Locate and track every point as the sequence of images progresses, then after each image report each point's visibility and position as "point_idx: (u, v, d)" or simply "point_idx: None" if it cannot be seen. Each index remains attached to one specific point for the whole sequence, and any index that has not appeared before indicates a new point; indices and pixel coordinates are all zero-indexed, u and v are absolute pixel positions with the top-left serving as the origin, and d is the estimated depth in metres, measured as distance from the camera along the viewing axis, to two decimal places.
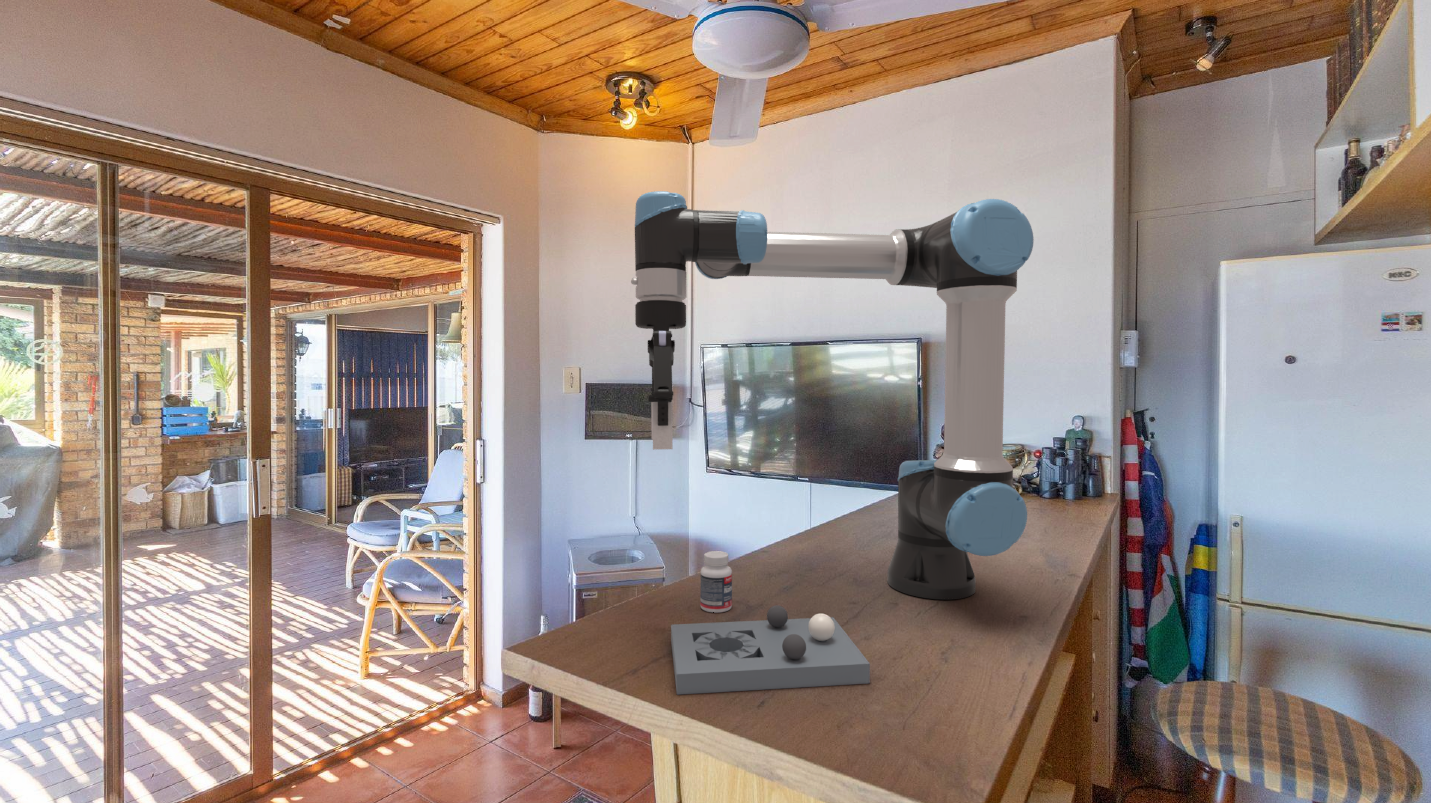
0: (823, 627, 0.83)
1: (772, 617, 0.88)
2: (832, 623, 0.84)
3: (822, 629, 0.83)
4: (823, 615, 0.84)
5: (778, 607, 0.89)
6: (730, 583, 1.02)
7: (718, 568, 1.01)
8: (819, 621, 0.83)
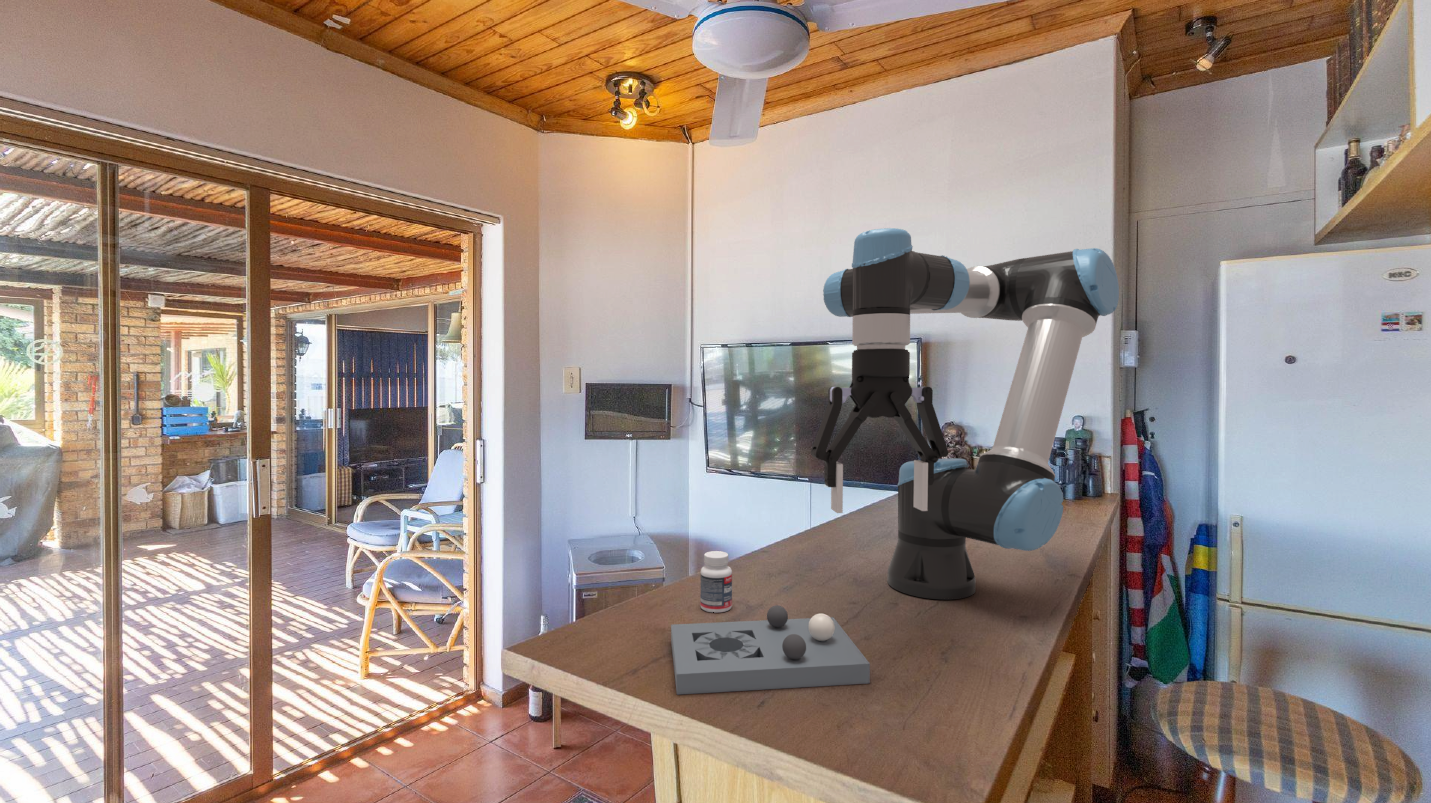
0: (823, 627, 0.83)
1: (772, 617, 0.88)
2: (832, 623, 0.84)
3: (822, 629, 0.83)
4: (823, 615, 0.84)
5: (778, 607, 0.89)
6: (730, 583, 1.02)
7: (718, 568, 1.01)
8: (819, 621, 0.83)
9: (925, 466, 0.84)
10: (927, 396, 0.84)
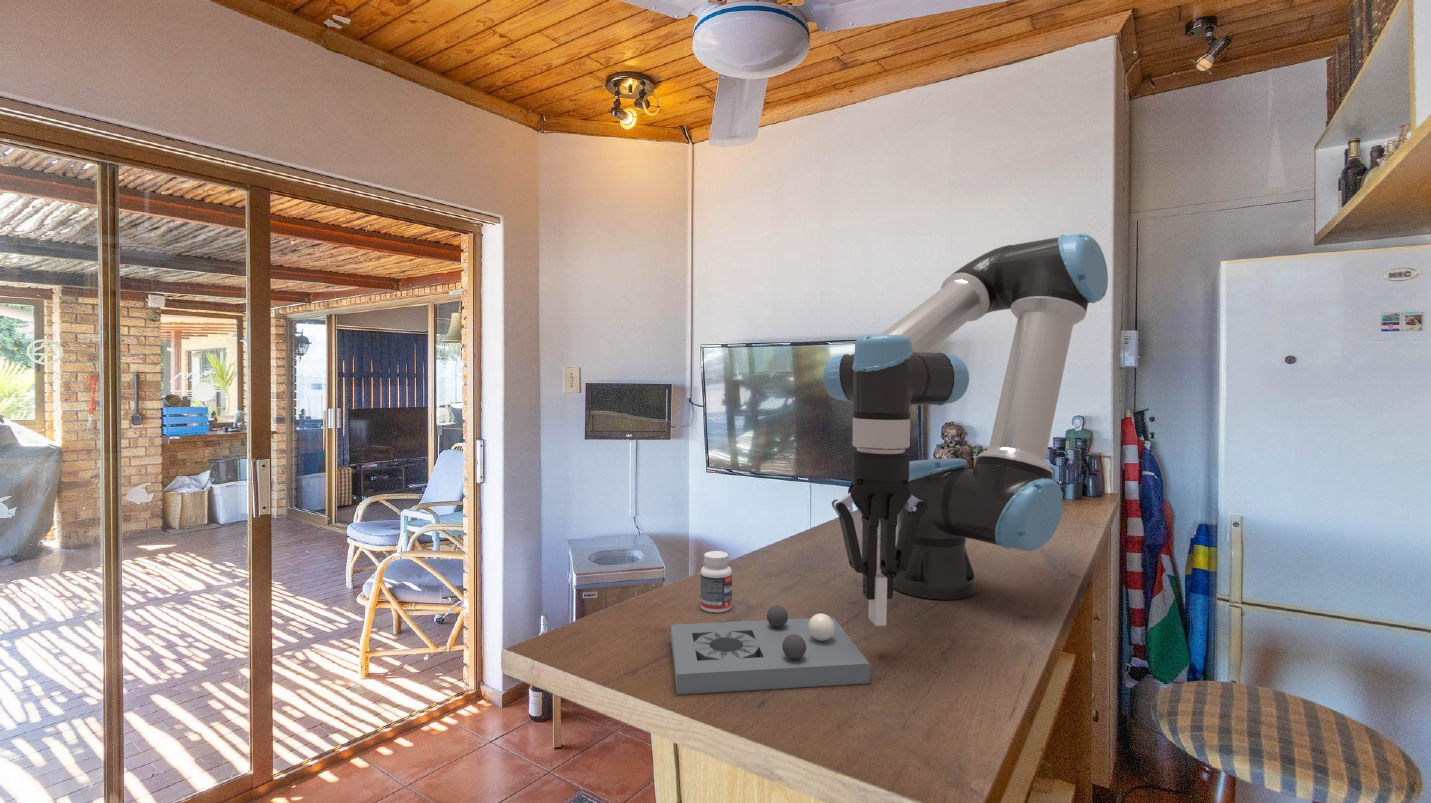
0: (823, 627, 0.83)
1: (772, 617, 0.88)
2: (832, 623, 0.84)
3: (822, 629, 0.83)
4: (823, 615, 0.84)
5: (778, 607, 0.89)
6: (730, 583, 1.02)
7: (718, 568, 1.01)
8: (819, 621, 0.83)
9: (884, 581, 0.84)
10: (919, 510, 0.84)
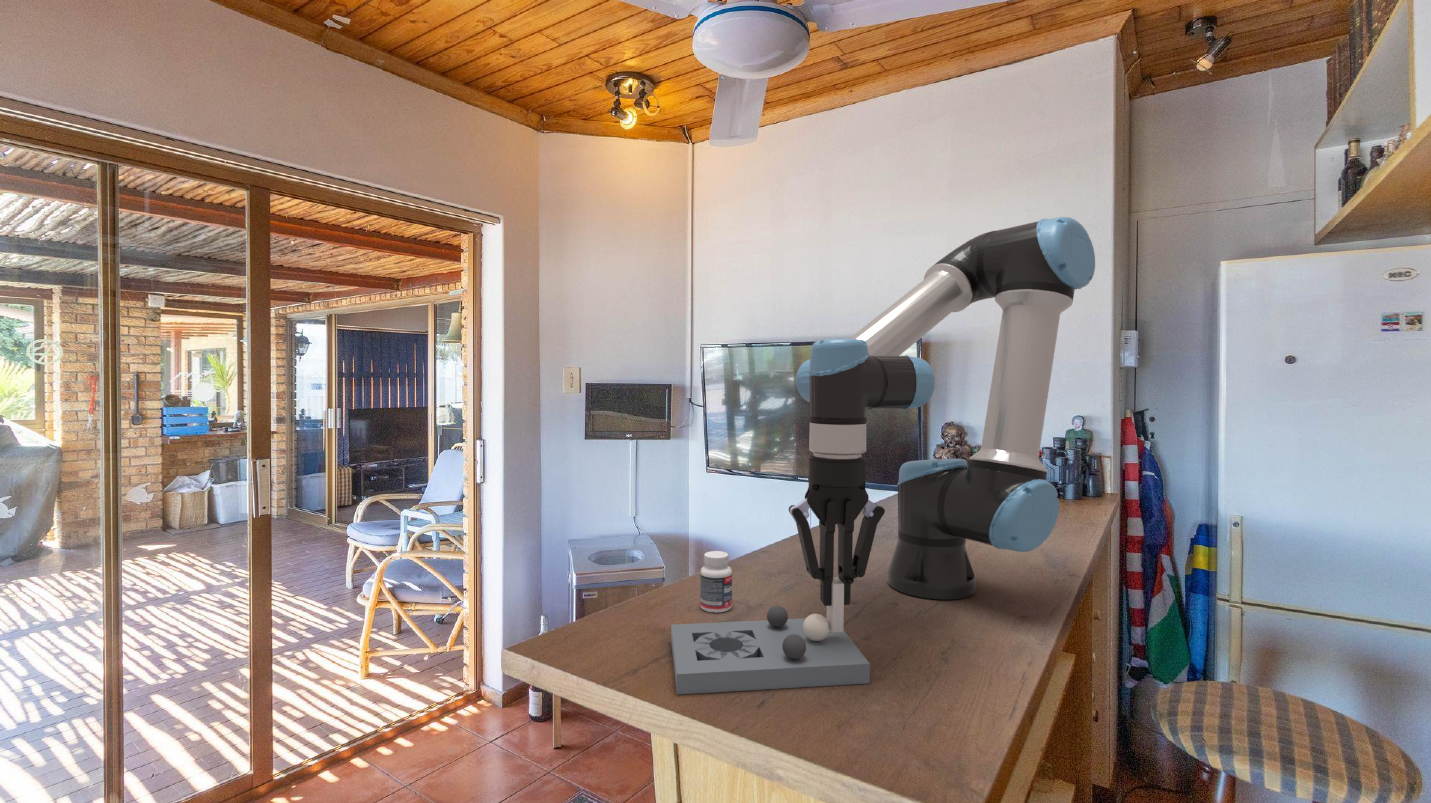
0: (816, 629, 0.83)
1: (772, 617, 0.88)
2: (824, 621, 0.84)
3: (816, 631, 0.83)
4: (813, 616, 0.84)
5: (778, 607, 0.89)
6: (730, 583, 1.02)
7: (718, 568, 1.01)
8: (810, 624, 0.83)
9: (841, 587, 0.83)
10: (877, 515, 0.84)
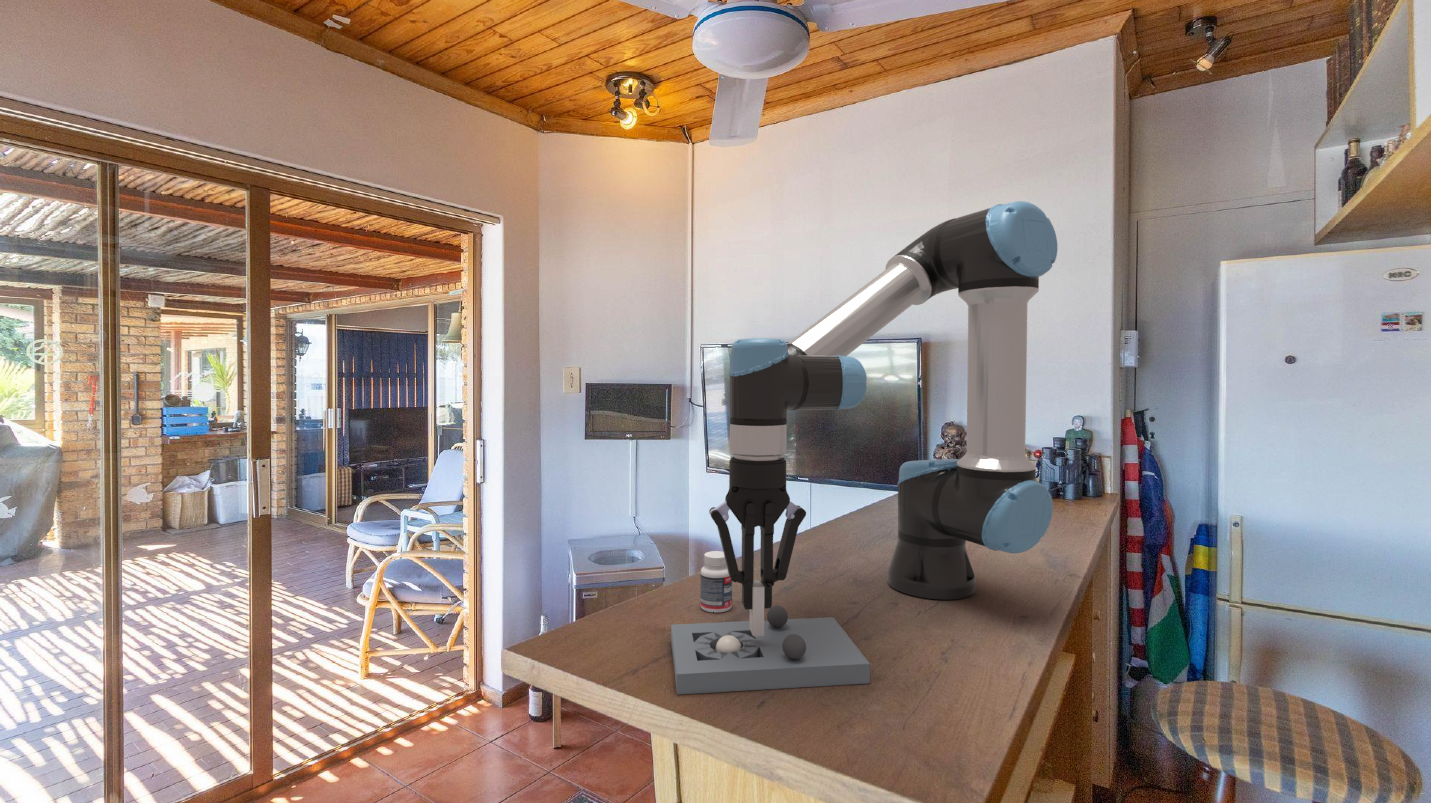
0: None
1: (772, 617, 0.88)
2: (723, 642, 0.83)
3: None
4: (716, 649, 0.83)
5: (778, 607, 0.89)
6: (730, 583, 1.02)
7: (718, 568, 1.01)
8: None
9: (761, 590, 0.82)
10: (798, 517, 0.82)
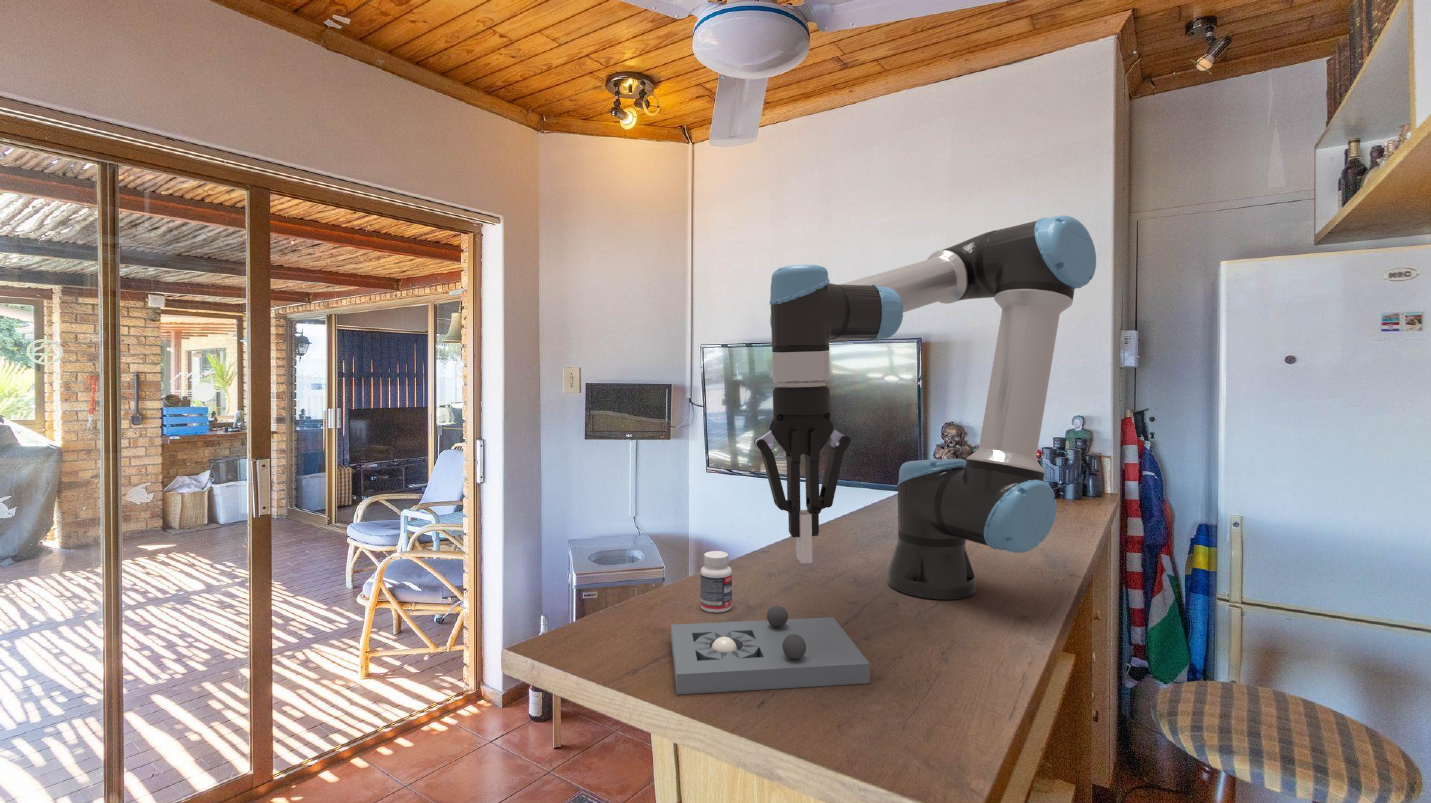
0: None
1: (772, 617, 0.88)
2: (716, 648, 0.82)
3: None
4: None
5: (778, 607, 0.89)
6: (730, 583, 1.02)
7: (718, 568, 1.01)
8: None
9: (808, 518, 0.83)
10: (842, 444, 0.83)
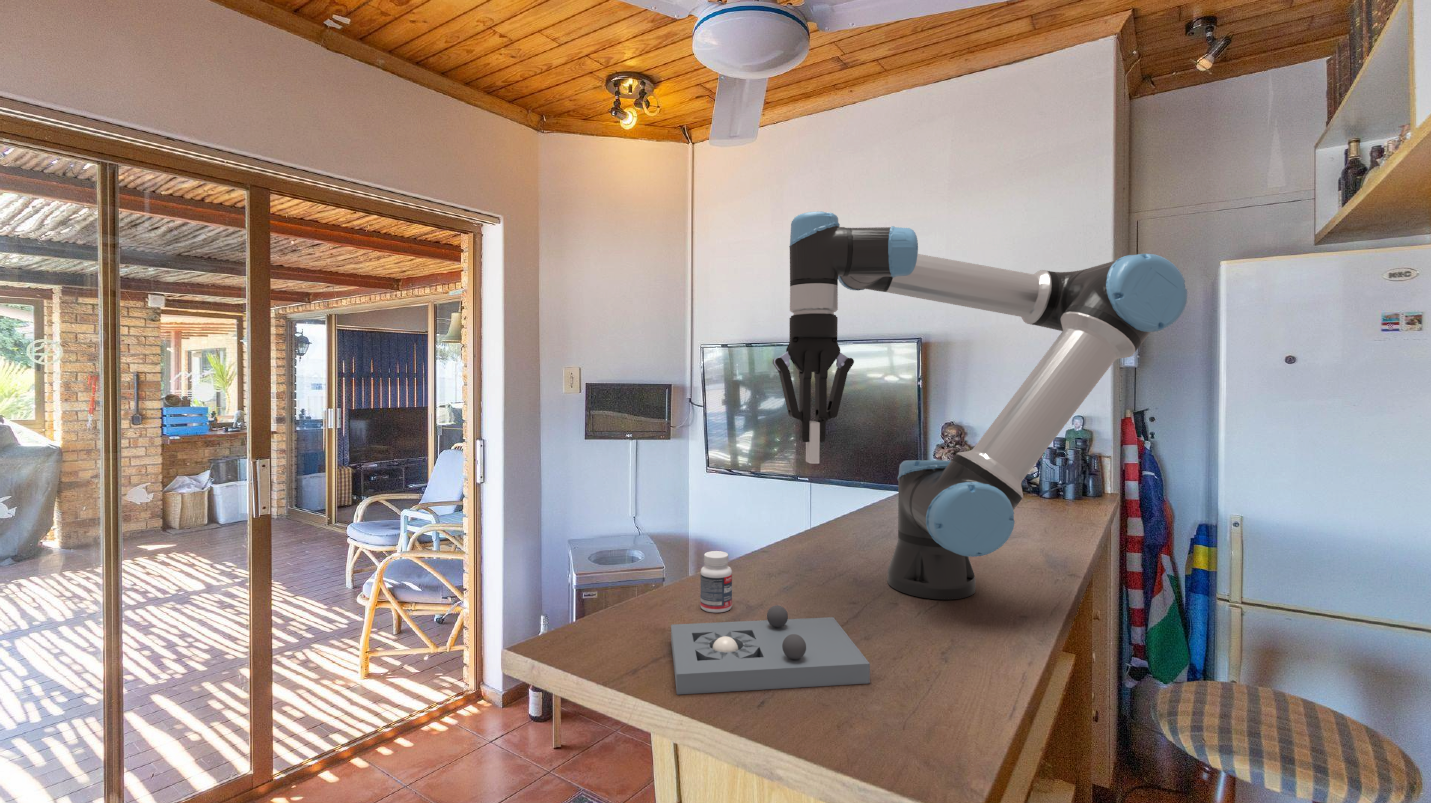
0: None
1: (772, 617, 0.88)
2: (717, 646, 0.82)
3: None
4: None
5: (778, 607, 0.89)
6: (730, 583, 1.02)
7: (718, 568, 1.01)
8: None
9: (817, 425, 0.98)
10: (847, 365, 0.99)
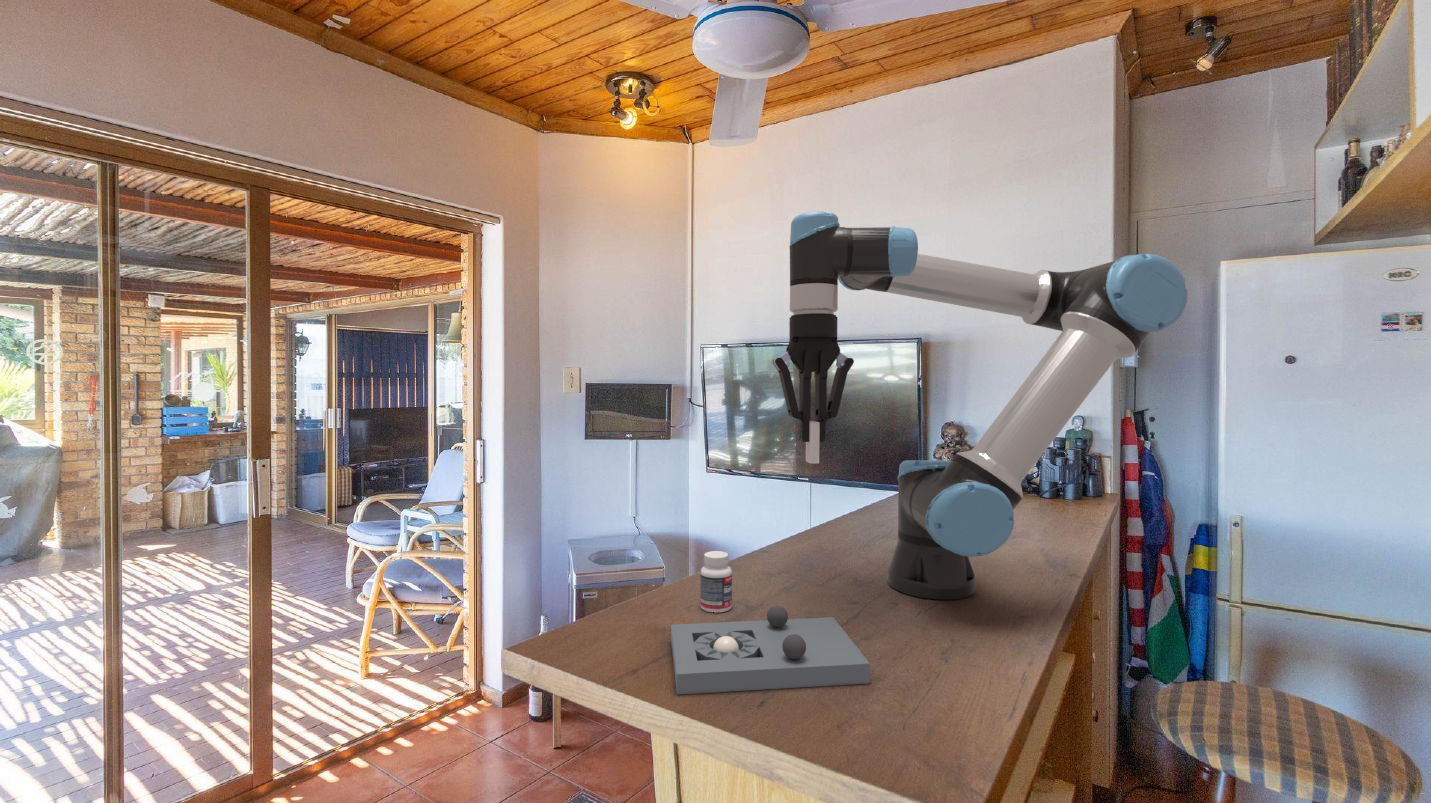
0: None
1: (772, 617, 0.88)
2: (719, 645, 0.82)
3: None
4: None
5: (778, 607, 0.89)
6: (730, 583, 1.02)
7: (718, 568, 1.01)
8: None
9: (817, 425, 0.98)
10: (847, 364, 0.99)
